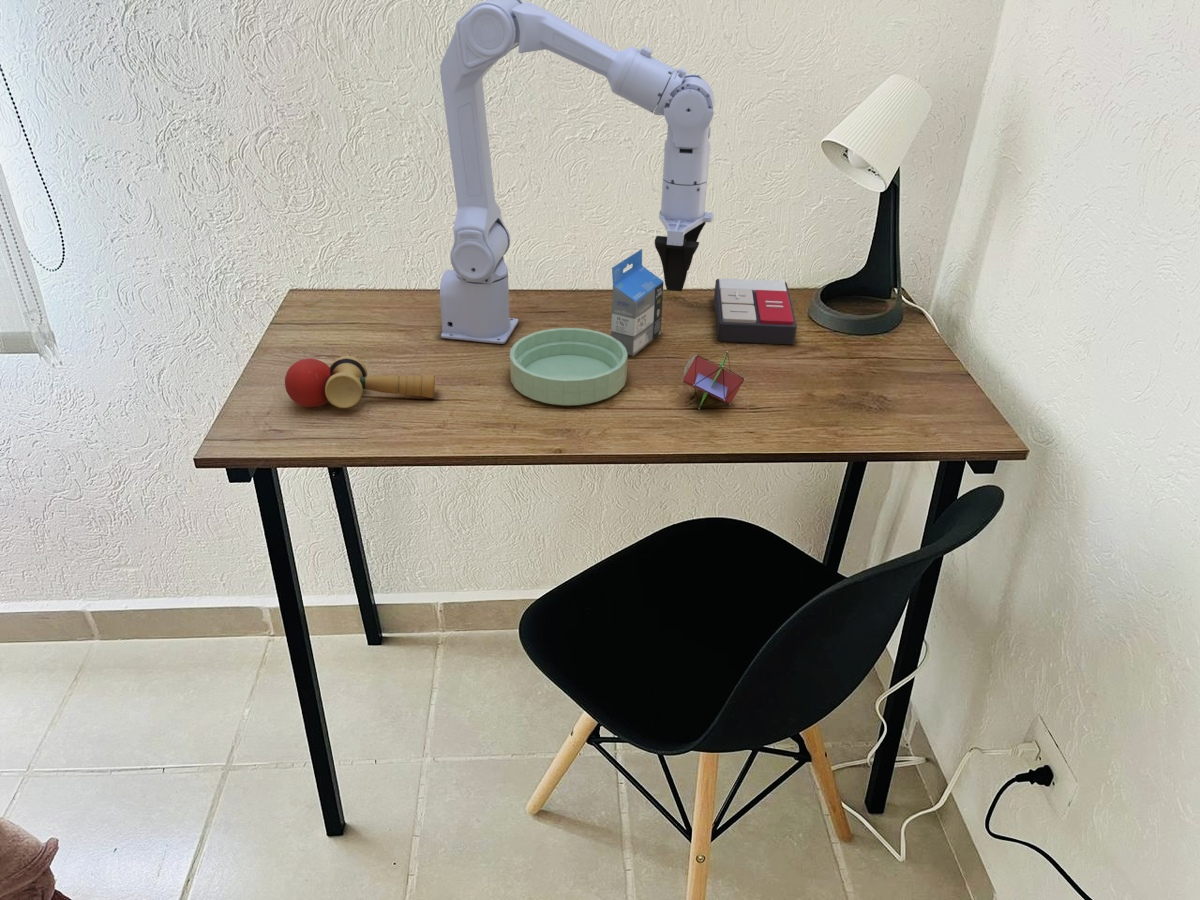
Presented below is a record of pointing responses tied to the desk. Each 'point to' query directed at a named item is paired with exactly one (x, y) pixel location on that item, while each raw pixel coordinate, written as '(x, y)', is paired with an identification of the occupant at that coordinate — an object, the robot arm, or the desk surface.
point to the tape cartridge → (636, 304)
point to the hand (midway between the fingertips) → (678, 279)
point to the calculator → (754, 311)
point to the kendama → (347, 382)
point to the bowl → (568, 366)
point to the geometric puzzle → (712, 379)
